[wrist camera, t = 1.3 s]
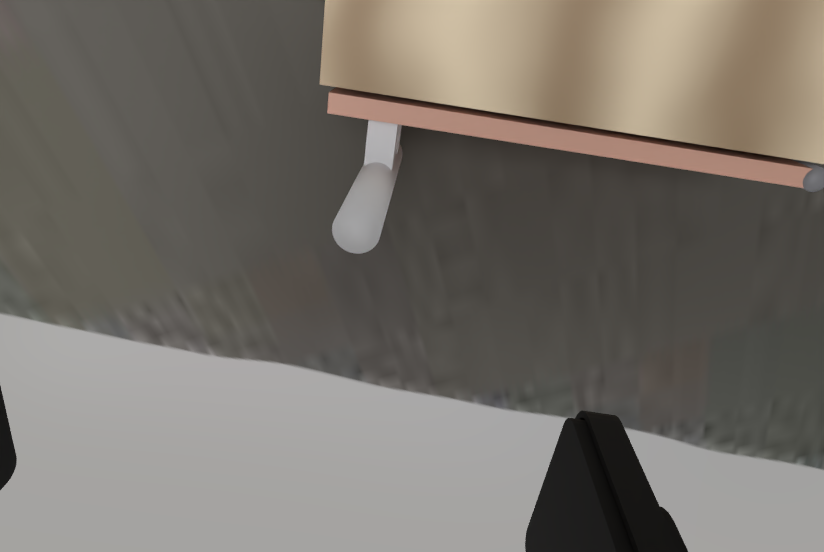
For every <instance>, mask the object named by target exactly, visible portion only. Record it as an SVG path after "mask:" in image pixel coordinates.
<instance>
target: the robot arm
mask: <svg viewBox="0 0 824 552" xmlns="http://www.w3.org/2000/svg"><path fill="white" fill-rule="evenodd" d="M15 467H16V453H15V449H14V444H13V440H12V436H11V431H10V427H9V422H8V418H7V413H6V409H5V404H4V400H3V396H2V391H1V387H0V490H1V489H2V488H3V487H4V485H5V484H6V483H7V482H8V481H9V479H10V478H11V476H12V474H13V472H14V470H15ZM525 547H526V552H688V551H687V548H686V546H685V544H684V542H683V540H682V538H681V535H680V533H679V531H678V529H677V527H676V525H675V523H674V521H673V519H672V518H671V516H670V514H669V513H668V512H667V511H666V510H665V509H664V508H662V507H659V504H658V502H657V500H656V498H655V496H654V493H653V491H652V489H651V487H650V485H649V482H648V481H647V478H646V476H645V473H644V472H643V469H642V467H641V465H640V463H639V460H638V458H637V456H636V454H635V451H634V449H633V447H632V445H631V443H630V440H629V438H628V436H627V434H626V432H625V429H624V427H623V425H622V423H621V421H620V419H619V418H618V417H617V416H615V415H608V414H602V413H595V412H588V411H580V412H579V413H578V414H577V416H576V418H575V419H574V418H567V419H566V421H565V423H564V425H563V428H562V431H561V434H560V436H559V439H558V442H557V445H556V448H555V451H554V454H553V457H552V460H551V462H550V465H549V468H548V471H547V474H546V477H545V480H544V482H543V485H542V488H541V491H540V494H539V497H538V500H537V502H536V505H535V508H534V511H533V514H532V517H531V520H530V523H529V525H528V528H527V533H526V543H525Z"/></svg>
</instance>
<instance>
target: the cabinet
mask: <svg viewBox="0 0 824 552" xmlns="http://www.w3.org/2000/svg"><path fill="white" fill-rule="evenodd" d="M320 85H326V86H333V87H339V88H345V89H352V90H358V91H364V92H371V93H377V94H383V95H390V96H396V97H402V98H409V99H415V100H421V101H428V102H434V103H440V104H447V105H453V106H459V107H466V108H472V109H478V110H485V111H491V112H497V113H504V114H510V115H516V116H523V117H529V118H535V119H542V120H548V121H554V122H560V123H567V124H573V125H579V126H586V127H592V128H598V129H605V130H611V131H617V132H624V133H630V134H636V135H643V136H649V137H655V138H662V139H668V140H674V141H681V142H687V143H693V144H700V145H706V146H712V147H719V148H725V149H731V150H738V151H744V152H750V153H757V154H763V155H769V156H775V157H782V158H788V159H794V160H801V161H807V162H813V163H820V164H824V0H325V11H324V26H323V42H322V57H321V72H320Z"/></svg>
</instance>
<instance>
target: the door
mask: <svg viewBox="0 0 824 552" xmlns="http://www.w3.org/2000/svg"><path fill="white" fill-rule="evenodd" d="M327 113H329V114H335V115H342V116H348V117H354V118H361V119H367V120H369V122H368V131H367V141H366V150H365V159H364V164H363V166H362V168H361V170H360V172H359V174H358V176H357V178H356V180H355V181H354V183H353V185H352V187H351V189H350V191H349V193H348V195H347V197H346V199H345V201H344V202H343V204H342V206H341V208H340V210H339V212H338V214H337V216H336V218H335V220H334V222H333V225H332V234H333V237H334V239H335V241H336V243H337V244H338V245H339V246H340V247H341V248H342V249H344V250H346V251H348V252H351V253H357V254H358V253H365V252H368V251H370V250H371V249H372V248H374V247H375V246H376V244H377V243H378V241H379V238H380V235H381V231H382V228H383V224H384V221H385V217H386V213H387V210H388V206H389V203H390V199H391V196H392V192H393V189H394V185H395V182H396V178H397V174H398V171H399V167H400V164H401V160H402V156H403V151H402V148H401V146H400V144H399V143H400V136H401V128H402V125H405V126H412V127H418V128H424V129H431V130H437V131H443V132H450V133H456V134H463V135H469V136H475V137H482V138H488V139H494V140H501V141H507V142H513V143H520V144H526V145H532V146H539V147H545V148H552V149H558V150H564V151H571V152H577V153H583V154H590V155H596V156H602V157H609V158H615V159H621V160H628V161H634V162H641V163H647V164H653V165H660V166H666V167H672V168H679V169H685V170H691V171H698V172H704V173H710V174H717V175H723V176H730V177H736V178H742V179H749V180H755V181H761V182H768V183H774V184H780V185H787V186H793V187H799V188H803V189H805V190H807V191H809V192H816V191H819V190H821V189H822V188H824V168H822V167H820V166H818V165H815V164H813V163H810V162H807V161H801V160H794V159H788V158H782V157H775V156H769V155H763V154H757V153H750V152H744V151H738V150H731V149H725V148H719V147H712V146H706V145H700V144H693V143H687V142H681V141H674V140H668V139H662V138H655V137H649V136H643V135H636V134H630V133H624V132H617V131H611V130H605V129H598V128H592V127H586V126H579V125H573V124H567V123H560V122H554V121H548V120H542V119H535V118H529V117H523V116H516V115H510V114H504V113H497V112H491V111H485V110H478V109H472V108H466V107H459V106H453V105H447V104H440V103H434V102H428V101H421V100H415V99H409V98H402V97H396V96H390V95H383V94H377V93H371V92H364V91H358V90H352V89H345V88H339V87H336V88H334V89H333V90H332V91H330V92H329V97H328V111H327Z"/></svg>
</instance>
